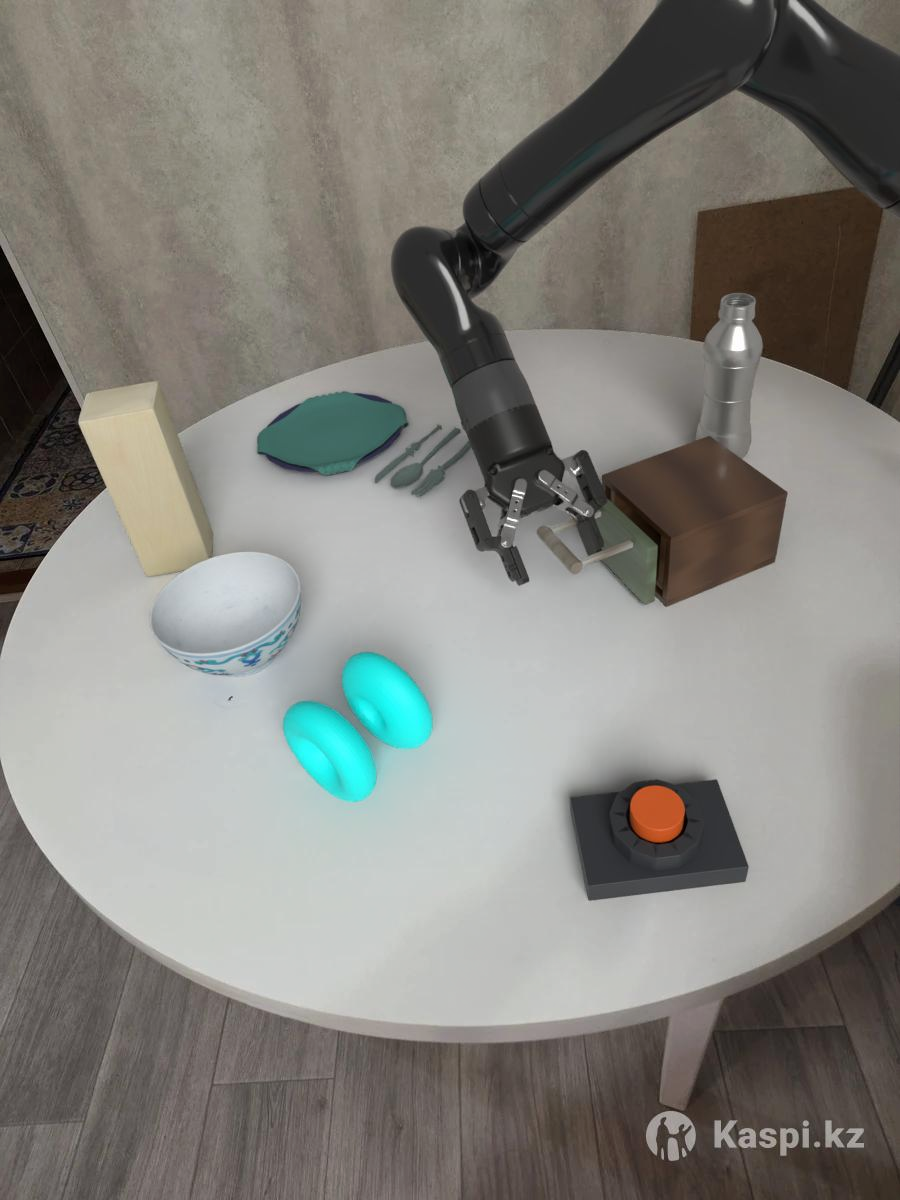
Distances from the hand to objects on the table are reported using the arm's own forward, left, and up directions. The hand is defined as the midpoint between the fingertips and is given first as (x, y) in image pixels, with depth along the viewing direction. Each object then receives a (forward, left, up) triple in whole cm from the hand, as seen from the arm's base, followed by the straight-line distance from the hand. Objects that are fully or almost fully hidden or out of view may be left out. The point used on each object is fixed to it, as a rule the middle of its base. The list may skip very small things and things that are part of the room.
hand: (560, 569), depth 86 cm
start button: (-3, +28, -2) cm, 28 cm away
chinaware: (+33, 0, -6) cm, 34 cm away
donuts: (+20, +16, -6) cm, 27 cm away
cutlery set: (+21, -37, -6) cm, 43 cm away
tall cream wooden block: (+43, -19, -6) cm, 48 cm away
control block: (-3, +28, -6) cm, 29 cm away
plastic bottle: (-24, -24, -6) cm, 34 cm away
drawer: (-9, -5, -5) cm, 11 cm away
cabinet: (-15, -7, -6) cm, 17 cm away
